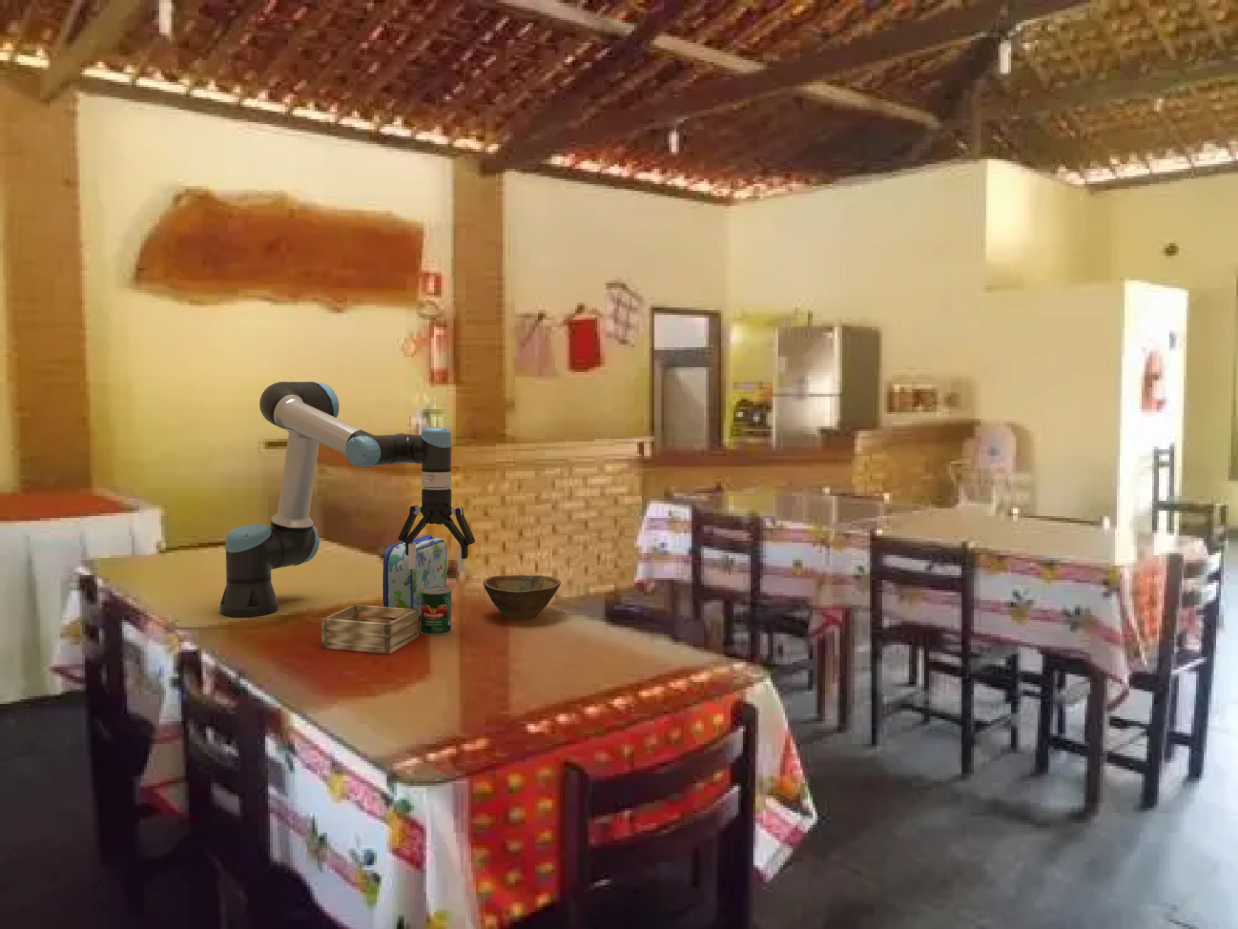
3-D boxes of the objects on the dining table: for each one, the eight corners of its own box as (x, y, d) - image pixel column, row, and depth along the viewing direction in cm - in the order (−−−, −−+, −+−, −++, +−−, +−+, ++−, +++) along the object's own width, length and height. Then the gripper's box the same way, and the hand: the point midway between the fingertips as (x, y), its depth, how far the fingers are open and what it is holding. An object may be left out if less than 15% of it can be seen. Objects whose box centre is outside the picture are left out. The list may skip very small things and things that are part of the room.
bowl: (575, 612, 269) (576, 577, 268) (535, 630, 249) (535, 593, 248) (509, 603, 278) (510, 570, 278) (465, 620, 258) (465, 584, 257)
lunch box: (416, 600, 280) (417, 530, 278) (451, 602, 278) (451, 532, 276) (377, 621, 255) (377, 544, 253) (414, 624, 253) (414, 546, 251)
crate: (321, 647, 229) (321, 619, 228) (354, 631, 244) (354, 604, 244) (389, 653, 225) (389, 625, 224) (418, 636, 240) (418, 609, 240)
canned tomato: (425, 636, 240) (425, 594, 239) (416, 629, 247) (416, 588, 246) (455, 633, 244) (455, 591, 243) (446, 626, 251) (446, 585, 250)
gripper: (385, 487, 242) (385, 569, 243) (476, 491, 236) (476, 575, 238) (398, 484, 249) (398, 564, 251) (487, 488, 243) (487, 569, 245)
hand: (436, 569), depth 244 cm, fingers open, 13 cm apart
